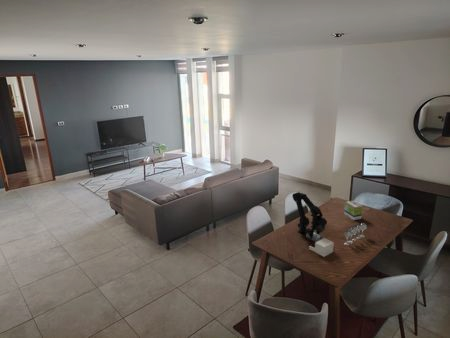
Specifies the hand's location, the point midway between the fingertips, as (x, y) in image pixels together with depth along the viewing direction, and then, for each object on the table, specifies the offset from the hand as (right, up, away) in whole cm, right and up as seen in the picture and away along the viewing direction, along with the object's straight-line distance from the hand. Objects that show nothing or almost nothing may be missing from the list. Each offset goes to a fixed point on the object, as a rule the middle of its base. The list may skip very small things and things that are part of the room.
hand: (314, 237), depth 279 cm
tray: (0, -2, 0) cm, 2 cm away
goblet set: (+35, -2, -3) cm, 36 cm away
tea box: (+52, +12, +41) cm, 67 cm away
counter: (0, -7, -18) cm, 20 cm away
